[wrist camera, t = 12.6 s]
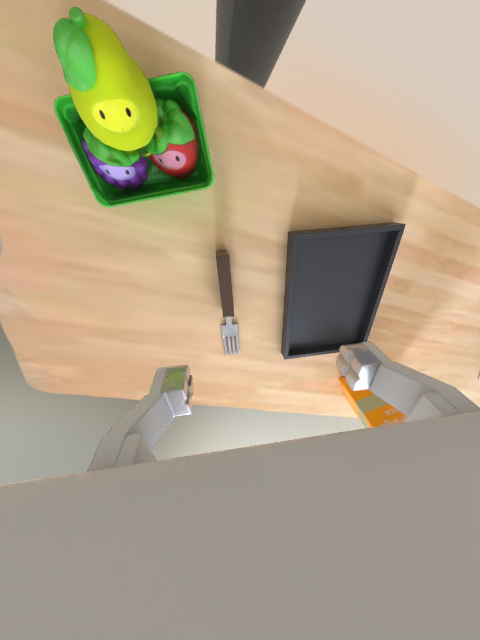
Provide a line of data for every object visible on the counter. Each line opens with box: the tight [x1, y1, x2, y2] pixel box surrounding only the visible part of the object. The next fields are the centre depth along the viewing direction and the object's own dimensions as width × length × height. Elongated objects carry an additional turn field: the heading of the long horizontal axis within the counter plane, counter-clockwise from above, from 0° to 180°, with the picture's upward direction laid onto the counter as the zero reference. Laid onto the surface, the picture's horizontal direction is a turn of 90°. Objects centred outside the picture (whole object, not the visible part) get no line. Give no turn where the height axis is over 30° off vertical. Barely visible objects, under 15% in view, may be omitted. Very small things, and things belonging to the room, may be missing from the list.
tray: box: [281, 223, 406, 359], centre depth 33 cm, size 21×15×2 cm
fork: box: [216, 250, 240, 355], centre depth 31 cm, size 18×3×3 cm, turn 3°
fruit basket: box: [53, 7, 214, 208], centre depth 17 cm, size 11×9×11 cm
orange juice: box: [339, 376, 407, 428], centre depth 38 cm, size 8×9×20 cm
